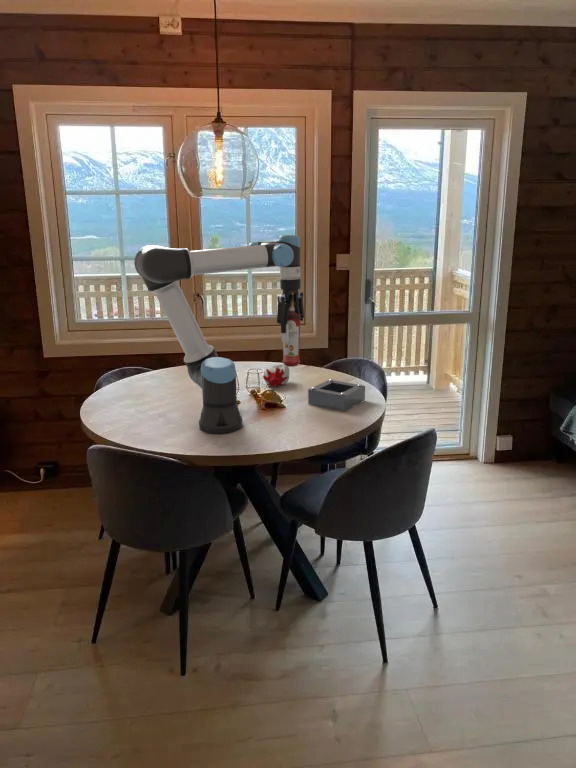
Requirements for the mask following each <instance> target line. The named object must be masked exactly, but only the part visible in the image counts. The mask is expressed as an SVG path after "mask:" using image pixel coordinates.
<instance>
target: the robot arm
mask: <svg viewBox="0 0 576 768" xmlns="http://www.w3.org/2000/svg"><path fill="white" fill-rule="evenodd" d="M301 248H302V247H301V238H300V235H298V234H281V235H279V237H278V240H276V241H253V242H250V243H248V245H243V246H235V247H234V246H233V247H221V248H209V249H200V250H189V249H188V248H186V247H184V248H171V247H165V246H161V245H159V244H154V243H151V244H148V245H144V246H142V247H141V248H140V249H139V250H138V251H137V252H136V254H135V255H134V262H133V263H134V268H135V271H136V272H137V274H138V275H139V276H140V277H141V278H142V280H143V282H144V285H145V286H146V288H147V290H148V292H150V293H152V294H155V296H156V298H157V301H158V302H159V304H160V306H161V308H162V310H163V312H164V314H165V317H166V318H167V320H168V322H169V324H170V326H171V329H172V330H173V333H174V334H175V336H176V338H177V341H178V342H179V344H180V346H181V348H182V350H183V352H184V354H185V355H184V357H183V362H184V364H185V366H186V368H187V373H188V376H189V378H190V380H192V381H193V383H194V384H196V385H197V386H198V387H199V388H201V391H202V393H201V394H202V395H201V396H202V409H201V413H200V416H199V417H200V418H199V420H198V426H199V427H198V428H199V430H200V431H202V432H203V433H206V434H212V435H213V434H215V435H223V434H230V433H234V432H237V431H240V430H241V429H242V428H243V426H244V424H243V423H244V422H243V420H244V419H243V417H242V416H241V413H240V410H239V407H238V401H237V399H238V398H237V396H238V395H237V369H236V364H235V362H234V361H233V360H231V359H230V358H225V357H219V355H218V354H217V351H216V349H215V347H214V346H213V345H211V344H208V343H207V340H206V338H205V336H204V334H203V332H202V330H201V327H200V326H199V324H198V322H197V319H196V318H195V316H194V313H193V310H192V309H191V306H190V305H189V303H188V300H187V298H186V296H185V294H184V292H183V290H182V288H181V286H180V281H182V280H183V281H184V280H191V278H193V276H199V275H208V274H217V273H226V272H227V273H228V272H234V271H241V270H242V271H243V270H252V269H262V268H273V267H278V268H279V278H280V282H279V285H280V289H281V290H282V293H281V295H277V297H276V298H277V311H276V312H277V313H276V316H277V317H276V323H277V324H278V325H280V333H281V334H280V335H281V342H283V341H284V342H289V330H288V324H287V320H288V315H289V310H290V307H291V306H292V302H293V301H294V310H295V313H297V314H299V315H300V316H301V318H300V322H302V321H304V318H305V312H304V310H305V309H304V292H300V291H299V290H300V289H301V284H302V283H301V279H300V278H301ZM292 292H294V295H292ZM293 299H294V300H293ZM301 324H302V323H300V328H301V326H302V325H301Z"/></svg>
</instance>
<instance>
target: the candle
mask: <svg viewBox="0 0 576 768" xmlns="http://www.w3.org/2000/svg"><path fill="white" fill-rule="evenodd" d="M262 378H263V381H264V382H265V383H266V385H267V386H269V387H277V388H278V387H280V386H282V385H283V386H286V385H287V383H288V382H289V380H290V367H289V366H286V365H285V364H284V363H281V364H272V365H270V366H269V367H267V368H265V369H264V371H263V375H262Z"/></svg>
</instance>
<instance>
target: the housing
mask: <svg viewBox="0 0 576 768" xmlns="http://www.w3.org/2000/svg"><path fill="white" fill-rule="evenodd" d="M307 392H308V393H307V396H308V397H307V398H308V400H307V401H308V402H307V403H308V405H310V406H314V407H315V406H316V407H320V408H325V409H330V410H333V411H334V410H335V411H339V412H343V411H345V412H347V411H348V410H351V408H353V406H354V407H356V406H357V405H359V404H361V403H363V402H365V401H366V385H364V384H361V383H357V384H356V383H352V382H346V381H340V380H334V379H333V378H330V379H328V380H327V381H324V382H322V383H321V382H320V383H318V384H317V385H314V386H312V387H310V388H308V390H307ZM364 400H365V401H364ZM362 401H363V402H362ZM355 405H356V406H355Z"/></svg>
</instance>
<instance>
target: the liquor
mask: <svg viewBox="0 0 576 768" xmlns="http://www.w3.org/2000/svg"><path fill="white" fill-rule="evenodd" d="M292 295H294V292H292ZM293 300H294V299H293ZM300 318H301V316H300V315H299V314H297V313H295V310H294V301H293V302H292V306H291V307H290V310H289V315H288V320H287V324H288V330H289V342H284V341H282V353H283V354H282V355H283V360H282V364H285V365H286V366H288V367H289V368H290V367H291V368H293V367H297V366H298V365H299V364H300V363H301V360H300V341H301V340H300V338H301V327H300V324H301V321H300Z"/></svg>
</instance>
